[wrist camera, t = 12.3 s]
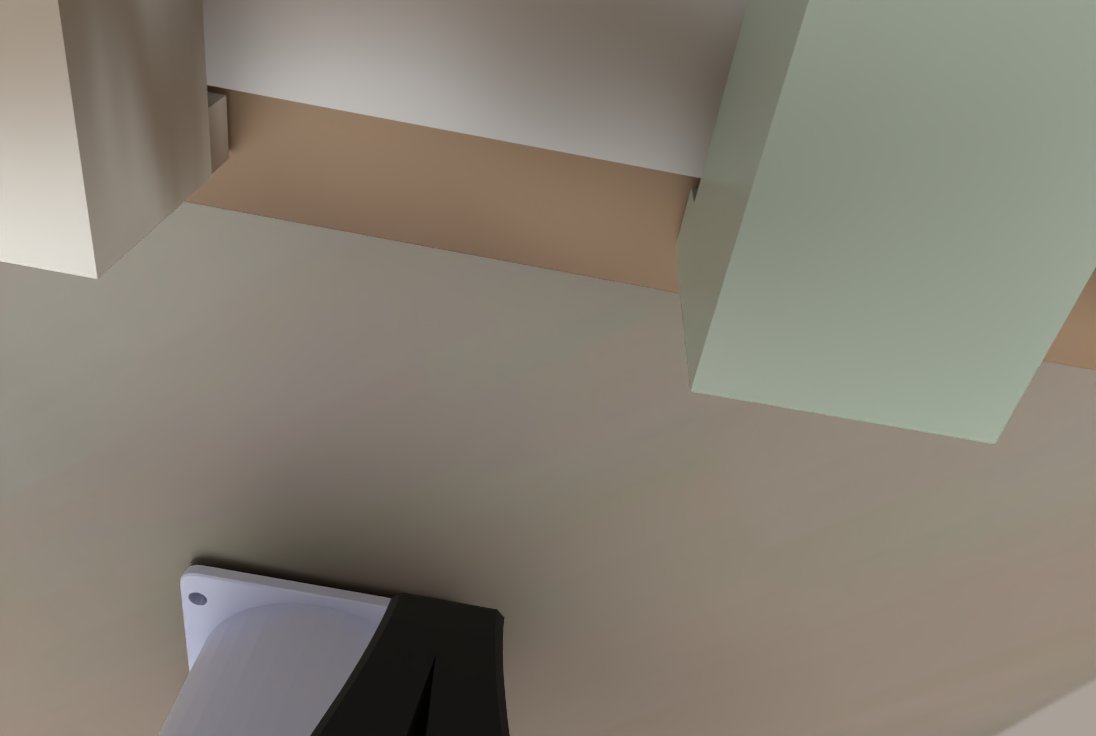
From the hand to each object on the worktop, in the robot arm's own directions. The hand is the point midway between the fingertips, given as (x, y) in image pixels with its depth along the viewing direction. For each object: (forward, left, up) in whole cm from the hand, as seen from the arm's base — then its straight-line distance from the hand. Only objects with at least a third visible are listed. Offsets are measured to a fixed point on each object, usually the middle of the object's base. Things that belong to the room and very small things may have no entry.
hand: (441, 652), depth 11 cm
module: (+6, -5, -8) cm, 11 cm away
